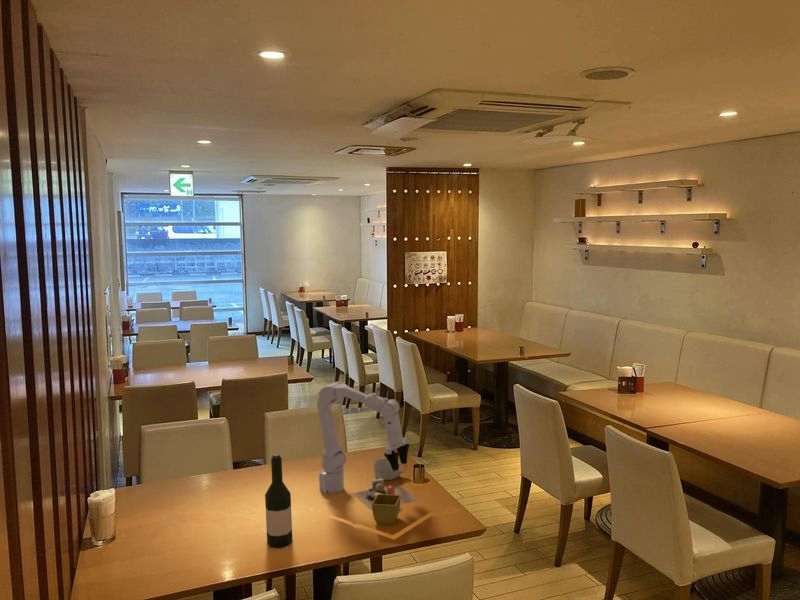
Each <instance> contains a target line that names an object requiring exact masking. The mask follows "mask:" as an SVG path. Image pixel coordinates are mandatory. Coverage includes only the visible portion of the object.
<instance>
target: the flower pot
mask: <svg viewBox="0 0 800 600" xmlns="http://www.w3.org/2000/svg"><path fill="white" fill-rule="evenodd" d="M400 499H401V496H400V495H387V494H377V496H376V497H375V499H374V501H373V502H372V510H373V511H372V510H371V511H372V515H373V519H374V521H375V524H377V525H388V526H389V525H390V526H393V525H395V522H396V521H397V518H398V517H399V513H400V509H401V504H400Z"/></svg>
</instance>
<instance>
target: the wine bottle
mask: <svg viewBox="0 0 800 600" xmlns="http://www.w3.org/2000/svg"><path fill="white" fill-rule="evenodd" d="M282 458H283V457H282V456H281V454H280V453H273V454H272V455H271V457H270V463H271V465H270V466H271V484H270V485H269V487H268V489H267V490H266V493H265V494H264V499H265V520H266V521H265V523H266V524H265V525H266V527H265V528H266V541H267V542H266V544H267V545H268V547H269V548H270V549H271V548H272V549H282V548H287V547H289V546H290V545H291V544H292V543H293V521H292V520H293V519H292V495H291V491H290V490H289V489H288V487H287V486H286V485H285V483H284V482H283V461H282Z"/></svg>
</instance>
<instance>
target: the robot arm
mask: <svg viewBox="0 0 800 600" xmlns="http://www.w3.org/2000/svg"><path fill="white" fill-rule="evenodd" d="M344 398H348V399H349V400H350V399H351V400H354V401H356V402H359V403H363V404H364V406H365V408H367V409H369V410H372V411H375V412H377V413H378V414H380V415H381V416H382V417H383V420H384V425H385V430H386V436H387V442H388V444H387V447H386V448H385V452H384V454H383V455H384V458H387V459H388V461H389V463H390V465H391V467H392V469H393V471H397V470H398V469H399V470H400V468H399V465H398V461H399V460H400V461H399V462H401V465H403V464H406V465H407V463H408V454H409V449H410V443H408V441H407V437H403V432H402V427H401V421H400V413H399V412H400V409H401V407H400V403H399V402H398V401H397V400H395V399H394V398H391V399H388V398H387V397H382V396H379V395H377V393H375V392H373V393H369V394H366V393H364V392H362V391H360V390H357V389H356V388H353V387H350V386H348V385H347V384H346V383H343V382H340V381H335V382H334V381H333V383H331V384H328V385H325V386H323V387H322V388H321V389H320V390H319V391H318V399H317V403H316V408H317V412H318V417H319V423H320V428H321V434H322V440H323V445H324V450H323V452H322V455H321V457H322V461H321V467H322V469H323V470H324V471H322V472H319V475H318V480H319V481H318V482H319V490H320V491H321V493H323V494H324V495H328V494H332V493H333V494H334V493H339V492H343V490H344V489H345V484H344V483H345V480H344V465H345V464H346V461H347V456H346V455H345V453H344V451H343V448H342V445H341V446H340V445H339V441H338V436H337V431H336V425H335V421H334V415H333V414H334V413H333V410H332V407H333V405H334V404H335V403H336V401H337V400H339V399H344ZM396 451H397V452H396Z"/></svg>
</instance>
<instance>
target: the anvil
mask: <svg viewBox="0 0 800 600" xmlns="http://www.w3.org/2000/svg"><path fill="white" fill-rule="evenodd" d="M384 482H385V480H383V479H382V478H380V479H377V478H372V479H371V488H372V489H374V490H375V486H376V485H377V484H378V483H382V484H383V485H384V486H385V484H384ZM375 491H376V490H375Z"/></svg>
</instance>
